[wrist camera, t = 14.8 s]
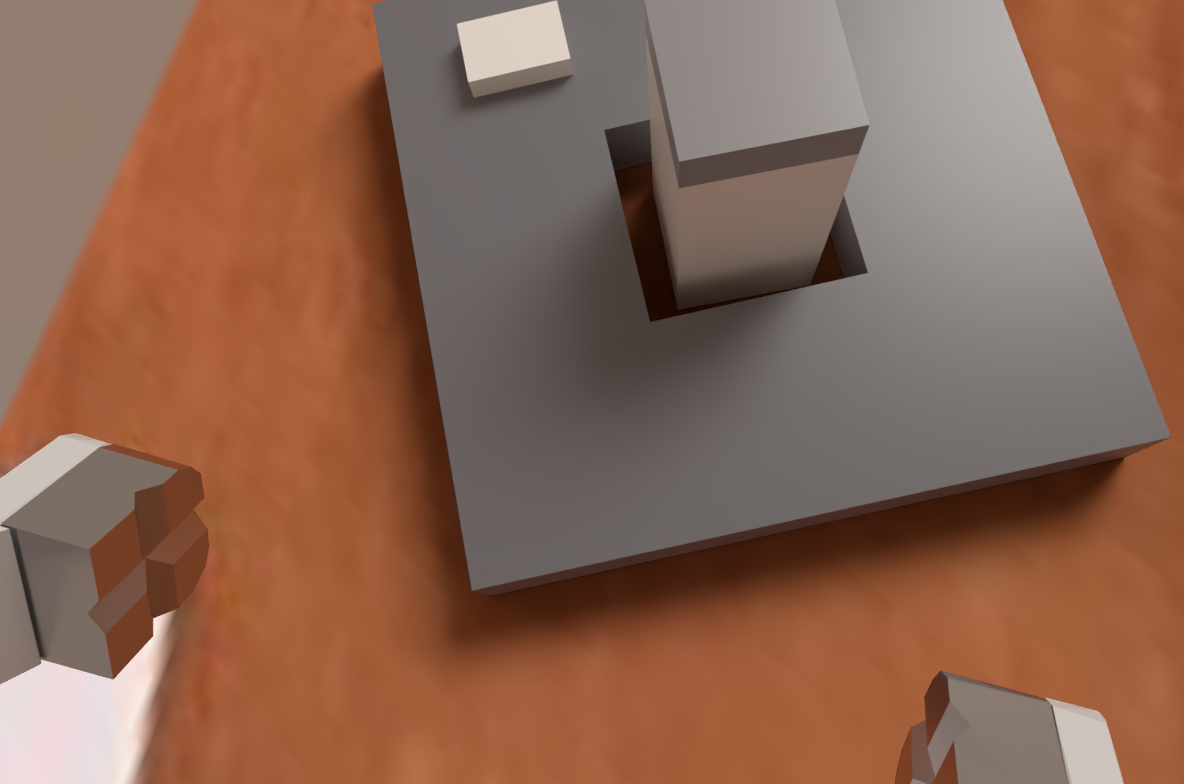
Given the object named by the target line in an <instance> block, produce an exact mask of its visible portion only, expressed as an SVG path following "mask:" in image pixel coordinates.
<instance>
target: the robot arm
mask: <svg viewBox="0 0 1184 784" xmlns="http://www.w3.org/2000/svg"><path fill="white" fill-rule="evenodd" d="M203 499H204V492H203V485H202V478H201V474H200V473H199V472H197V471H196V470H195V469H193V468H192V467H190V466H186V465H183V464H180V463H176V462H173V461H170V460H166V459H163V458H160V457H156V456H153V455H150V454H146V453H143V452H140V451H136V450H133V449H130V448H126V447H123V446H120V445H116V444H109V443H106V442H103V441H99V440H96V439H93V438H90V437H86V436H83V435H80V434H77V433H74V434H68V435H62V436H59V437H58V438H56V439H55V440H53V441H52V442H51V443H49V444H48V445H46V446H45V447H44V448H42V449H41V450H40V451H38V452H37V453H35V454H34V455H33V456H31V457H30V458H28V459H27V460H26V461H24V462H23V463H21V464H20V465H19V466H17V467H16V468H14V469H13V470H12V471H10V472H9V473H7V474H6V475H5V476H3V477H2V478H0V684H2V683H4V682H6V681H8V680H10V679H12V678H14V677H16V676H18V675H20V674H22V673H24V672H26V671H28V670H30V669H32V668H34V667H35V666H37V665H39V664H41V659H42V660H45V661H49V662H53V663H56V664H60V665H63V666H67V667H70V668H74V669H78V670H81V671H85V672H88V673H92V674H96V675H99V676H103V677H106V678H110V679H114V678H115V677H116V676H117V675H118V674H119V673H120V672H121V670H122V669H123V668H124V667H125V666H126V665H127V664H128V663H129V662H130V661H131V660H132V658H133V657H134V656H135V655H136V654H137V653H138V652H139V651H140V650H141V649H142V648H143V646H144V645H145V644H146V643H147V642H148V641H149V640H150V639H151V638H152V637H153V618H155V617H157V616H160V615H162V614H165V613H167V612H170V611H172V610H175V609H177V608H179V607H180V606H181V605H182V603H183V602H184V601H185V600H186V599H187V598H188V596H189V595H190V594H191V593H192V592H193V591H194V589H195V587H196V585H197V583H198V581H199V579H200V577H201V575H202V573H203V571H204V568H205V566H206V561H207V555H208V549H209V541H208V529H207V528H206V526H205V525H204V523H203V522H202V521H201V519H200V518H199V517H198V515H197V514H196V512H195V511H194V509H195V508H196V507H197V505H198V504H199V503H200V502H201V501H202V500H203ZM924 699H925V717H926V720H925V721H923V722H920V723H918V724H916V725H914V726H912V727H911V728H910V730H909V733H908V735H907V738H906V740H905V743H904V745H903V748H902V750H901V754H900V758H899V763H898V767H897V771H896V776H895V784H1124V782H1123V778H1122V775H1121V771H1120V768H1119V764H1118V761H1117V757H1116V754H1115V750H1114V747H1113V743H1112V740H1111V736H1110V733H1109V729H1108V726H1107V722H1106V720H1105V719H1104V717H1103V716H1102V715H1101V714H1100V713H1099V711H1096V710H1092V709H1088V708H1084V707H1080V706H1076V705H1072V704H1068V703H1064V702H1060V701H1056V700H1053V699H1049V698H1043V699H1042V698H1040V697H1038V696H1034V695H1030V694H1027V693H1023V692H1019V691H1015V690H1012V689H1008V688H1004V687H1000V686H996V685H993V684H989V683H985V682H981V681H978V680H974V679H970V678H966V677H962V676H959V675H955V674H951V673H947V672H943V671H940V672H939V673H938V674H937V675H936V676H935V677H934V678H933V680H932V682H931V684H930V686H929V688H928V690H927V692H926V695H925V697H924Z"/></svg>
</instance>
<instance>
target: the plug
mask: <svg viewBox="0 0 1184 784" xmlns="http://www.w3.org/2000/svg"><path fill="white" fill-rule="evenodd" d="M645 23H646V45H647V68H648V90H649V112H650V134H651V156H652V179H653V193H654V198H655V202H656V207H657V212H658V217H659V222H660V227H661V232H662V237H663V241H664V246H665V251H666V256H667V261H668V266H669V271H670V276H671V280H672V285H673V290H674V295H675V300H676V305H677V310H679V309H685V308H690V307H695V306H701V305H706V304H711V303H717V302H722V301H727V300H733V299H738V298H743V297H749V296H754V295H759V294H765V293H770V292H775V291H781V290H786V289H792V288H797V287H802V286H808V285H810V284H811V282H812V279H813V276H814V274H815V271H816V268H817V265H818V263H819V260H820V257H821V255H822V252H823V249H824V247H825V244H826V241H827V239H828V236H829V233H830V230H831V228H832V225H833V222H834V220H835V217H836V214H837V212H838V209H839V206H840V204H841V201H842V198H843V195H844V193H845V190H846V187H847V185H848V182H849V179H850V177H851V174H852V171H853V169H854V166H855V163H856V160H857V158H858V155H859V152H860V150H861V147H862V144H863V142H864V139H865V136H866V134H867V131H868V128H869V125H870V124H869V121H868V117H867V113H866V110H865V106H864V103H863V99H862V96H861V92H860V88H859V85H858V81H857V78H856V74H855V71H854V67H853V63H852V60H851V56H850V53H849V49H848V46H847V42H846V38H845V35H844V31H843V28H842V24H841V20H840V17H839V13H838V10H837V6H836V3H835V0H646V1H645Z"/></svg>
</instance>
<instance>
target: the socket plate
mask: <svg viewBox="0 0 1184 784" xmlns="http://www.w3.org/2000/svg"><path fill="white" fill-rule="evenodd" d="M645 1H646V0H388V1H384V2H380V3H375V4H372V6H373V12H374V18H375V24H376V30H377V36H378V42H379V48H380V53H381V59H382V65H383V71H384V77H385V83H386V89H387V95H388V100H389V106H390V112H391V118H392V124H393V130H394V136H395V142H396V148H397V153H398V159H399V165H400V171H401V177H402V183H403V189H404V195H405V200H406V206H407V212H408V218H409V224H410V230H411V236H412V242H413V248H414V253H415V259H416V265H417V271H418V277H419V283H420V289H421V295H422V300H423V306H424V312H425V318H426V324H427V330H428V336H429V342H430V348H431V353H432V359H433V365H434V371H435V377H436V383H437V389H438V395H439V400H440V406H441V412H442V418H443V424H444V430H445V436H446V442H447V448H448V453H449V459H450V465H451V471H452V477H453V483H454V489H455V495H456V500H457V506H458V512H459V518H460V524H461V530H462V536H463V542H464V548H465V553H466V559H467V565H468V571H469V577H470V583H471V589H472V591H475V592H478V593H481V594H484V595H488V596H493V595H498V594H502V593H507V592H511V591H516V590H520V589H525V588H530V587H534V586H539V585H543V584H548V583H552V582H557V581H561V580H566V579H571V578H575V577H580V576H584V575H589V574H593V573H598V572H603V571H607V570H612V569H616V568H621V567H625V566H630V565H635V564H639V563H644V562H648V561H653V560H657V559H662V558H666V557H671V556H676V555H680V554H685V553H689V552H694V551H698V550H703V549H708V548H712V547H717V546H721V545H726V544H730V543H735V542H740V541H744V540H749V539H753V538H758V537H762V536H767V535H771V534H776V533H781V532H785V531H790V530H794V529H799V528H803V527H808V526H813V525H817V524H822V523H826V522H831V521H835V520H840V519H845V518H849V517H854V516H858V515H863V514H867V513H872V512H877V511H881V510H886V509H890V508H895V507H899V506H904V505H908V504H913V503H918V502H922V501H927V500H931V499H936V498H940V497H945V496H950V495H954V494H959V493H963V492H968V491H972V490H977V489H982V488H986V487H991V486H995V485H1000V484H1004V483H1009V482H1013V481H1018V480H1023V479H1027V478H1032V477H1036V476H1041V475H1045V474H1050V473H1055V472H1059V471H1064V470H1068V469H1073V468H1077V467H1082V466H1087V465H1091V464H1096V463H1100V462H1105V461H1109V460H1114V459H1118V458H1123V457H1127V456H1129V455H1131V454H1134V453H1136V452H1138V451H1141V450H1143V449H1145V448H1148V447H1150V446H1152V445H1155V444H1157V443H1159V442H1161V441H1164V440H1166V439H1168V438H1171V435H1170V433H1169V430H1168V427H1167V425H1166V422H1165V420H1164V417H1163V414H1162V412H1161V409H1160V407H1159V404H1158V401H1157V399H1156V396H1155V394H1154V391H1153V389H1152V386H1151V383H1150V381H1149V378H1148V376H1147V373H1146V370H1145V368H1144V365H1143V363H1142V360H1141V357H1140V355H1139V352H1138V350H1137V347H1136V345H1135V342H1134V339H1133V337H1132V334H1131V332H1130V329H1129V326H1128V324H1127V321H1126V319H1125V316H1124V314H1123V311H1122V308H1121V306H1120V303H1119V301H1118V298H1117V295H1116V293H1115V290H1114V288H1113V285H1112V282H1111V280H1110V277H1109V275H1108V272H1107V270H1106V267H1105V264H1104V262H1103V259H1102V257H1101V254H1100V251H1099V249H1098V246H1097V244H1096V241H1095V238H1094V236H1093V233H1092V231H1091V228H1090V226H1089V223H1088V220H1087V218H1086V215H1085V213H1084V210H1083V207H1082V205H1081V202H1080V200H1079V197H1078V194H1077V192H1076V189H1075V187H1074V184H1073V182H1072V179H1071V176H1070V174H1069V171H1068V169H1067V166H1066V163H1065V161H1064V158H1063V156H1062V153H1061V150H1060V148H1059V145H1058V143H1057V140H1056V138H1055V135H1054V132H1053V130H1052V127H1051V125H1050V122H1049V119H1048V117H1047V114H1046V112H1045V109H1044V106H1043V104H1042V101H1041V99H1040V96H1039V94H1038V91H1037V88H1036V86H1035V83H1034V81H1033V78H1032V75H1031V73H1030V70H1029V68H1028V65H1027V62H1026V60H1025V57H1024V55H1023V52H1022V50H1021V47H1020V44H1019V42H1018V39H1017V37H1016V34H1015V31H1014V29H1013V26H1012V24H1011V21H1010V18H1009V16H1008V13H1007V11H1006V8H1005V6H1004V3H1003V0H835V3H836V6H837V10H838V13H839V17H840V20H841V24H842V28H843V31H844V35H845V38H846V42H847V46H848V49H849V53H850V56H851V60H852V63H853V67H854V71H855V74H856V78H857V81H858V85H859V88H860V92H861V96H862V99H863V103H864V106H865V110H866V113H867V117H868V121H869V124H870V125H869V128H868V131H867V134H866V136H865V139H864V142H863V144H862V147H861V150H860V152H859V155H858V158H857V160H856V163H855V166H854V169H853V171H852V174H851V177H850V179H849V182H848V185H847V187H846V190H845V193H844V195H843V198H842V201H841V204H840V206H839V209H838V212H837V214H836V217H835V220H834V222H833V225H832V228H831V230H830V236H831V239H832V242H833V246H834V249H835V252H836V256H837V259H838V262H839V265H840V269H841V272H842V275H843V279H839V280H835V281H830V282H826V283H821V284H817V285H812V286H808V287H804V288H799V289H795V290H790V291H786V292H781V293H777V294H772V295H768V296H764V297H759V298H755V299H750V300H746V301H741V302H737V303H733V304H728V305H724V306H719V307H715V308H710V309H706V310H701V311H697V312H693V313H688V314H684V315H679V316H675V317H670V318H666V319H661V320H657V321H653V322H650V320H649V316H648V311H647V307H646V303H645V299H644V295H643V290H642V286H641V282H640V278H639V274H638V270H637V265H636V261H635V257H634V253H633V249H632V244H631V240H630V236H629V232H628V228H627V224H626V219H625V215H624V211H623V207H622V203H621V198H620V194H619V190H618V186H617V182H616V178H615V173H614V171H616V170H620V169H624V168H629V167H633V166H637V165H642V164H646V163H650V162H652V156H651V134H650V112H649V90H648V68H647V45H646V23H645Z"/></svg>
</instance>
